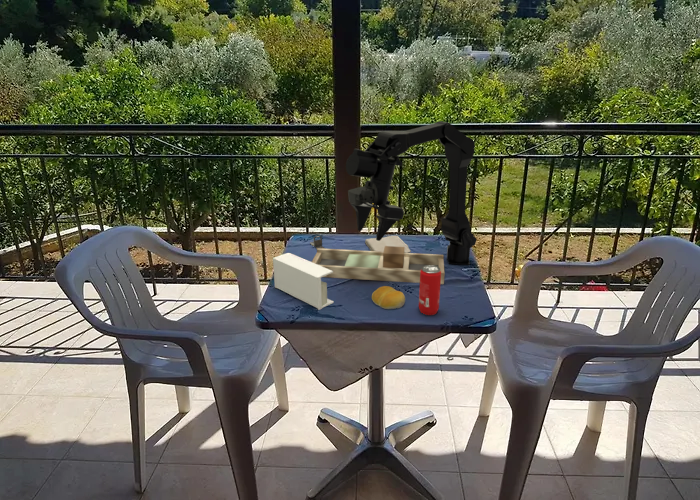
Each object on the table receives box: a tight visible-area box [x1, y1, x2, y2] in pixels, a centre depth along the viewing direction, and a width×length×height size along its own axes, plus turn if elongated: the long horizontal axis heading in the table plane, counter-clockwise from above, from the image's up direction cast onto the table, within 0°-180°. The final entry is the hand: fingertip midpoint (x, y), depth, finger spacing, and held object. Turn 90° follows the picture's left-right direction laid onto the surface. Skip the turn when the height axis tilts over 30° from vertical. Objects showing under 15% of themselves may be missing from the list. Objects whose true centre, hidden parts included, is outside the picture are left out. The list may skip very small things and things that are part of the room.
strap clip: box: [309, 235, 327, 250], centre depth 174 cm, size 8×3×4 cm, turn 27°
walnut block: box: [383, 246, 405, 268], centre depth 154 cm, size 6×6×4 cm
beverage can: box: [418, 265, 442, 316], centre depth 130 cm, size 5×5×12 cm
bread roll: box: [371, 285, 406, 310], centre depth 136 cm, size 8×9×4 cm
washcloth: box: [364, 235, 412, 253], centre depth 171 cm, size 12×18×3 cm, turn 14°
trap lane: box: [311, 248, 446, 285], centre depth 155 cm, size 40×14×4 cm, turn 81°
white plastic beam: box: [272, 252, 334, 311], centre depth 140 cm, size 20×6×9 cm, turn 45°
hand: (368, 235), depth 140 cm, fingers open, 9 cm apart
